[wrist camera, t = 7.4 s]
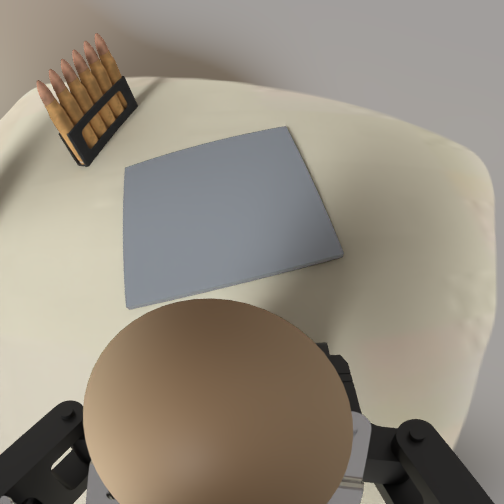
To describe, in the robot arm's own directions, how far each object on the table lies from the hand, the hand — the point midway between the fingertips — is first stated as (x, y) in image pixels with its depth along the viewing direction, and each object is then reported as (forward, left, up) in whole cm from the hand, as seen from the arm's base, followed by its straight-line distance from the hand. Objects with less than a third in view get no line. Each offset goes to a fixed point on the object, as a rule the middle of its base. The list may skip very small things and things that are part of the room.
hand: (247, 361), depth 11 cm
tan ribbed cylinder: (0, -2, -6) cm, 6 cm away
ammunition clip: (-11, +28, -8) cm, 31 cm away
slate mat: (0, +13, -8) cm, 15 cm away
